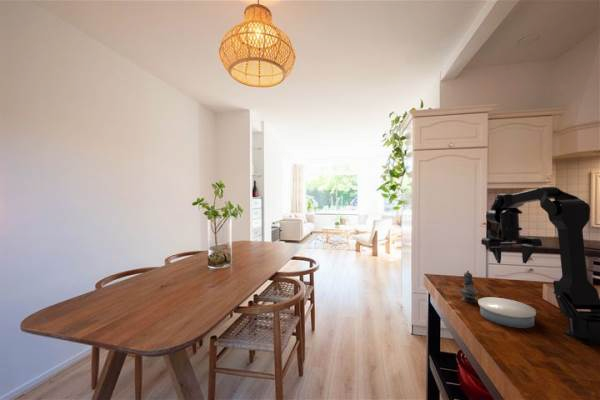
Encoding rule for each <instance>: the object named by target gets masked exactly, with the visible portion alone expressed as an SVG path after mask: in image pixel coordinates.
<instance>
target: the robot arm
mask: <svg viewBox="0 0 600 400" xmlns="http://www.w3.org/2000/svg"><path fill="white" fill-rule="evenodd" d="M538 201H539V204H540V205H539V206H540V208H541V209H542V210H544V211H545V212H546V213H547V215H548V221H550V223H551V224H552V225H553V226H554V227H555V228H556V229H557V238H558V246H559V255H560V256H559V257H560V266H561V278H560V279H559V280H553V283H552V285H553V295H554V296H555V297H554V298H555V300H556V303H557V306H558V309H559V311H560V313H561V314H563V315H564V316H565V317H567V321H568V330H566V329H565V330H563V333H564V334H566V335H568V336H570V337H571V338H573V339H575V340H577V341H579V342H580V343H582V344H584V345H597V346H600V295H599V292H598V289H597V288H596V287H595V286H594V284H593V283H592V282H591V281H590V280H589V276H588V269H587V259H586V250H585V243H584V242H585V241H584V231H583V230H584V228H585V226H587V224H588V223H589V222H590V217H591V207H590V204H589V203H588V202H586V201H585V200H583V199H580V198H579V197H578V196H576V195H573V194H570V193H569V192H565V191H564V190H562V189H560V188H558V187H557V186H544V187H541V186H540V187H537V188H533V189H530V190H526V191H522V192H518V193H499V194H498V195H497V196H496V197H495V199H494V201H493V203H492V205H491V207H490V210H488V212H487V213H486V215H485V218H486V220H487V221H488V222H490V223H493V224H494V223H495V224H500V225H499V226H498V227H497V229H498V230H495V229H492V228H491V229H487V231H486V232H487V233H486V234H487V237H482V239H481V242H480V244H481V245H483V246H484V247H486V248H488V249H489V250H490V251H491V252H492V254H493V257H494V258H495V261H496V263H498V264H501V262H502V247H501V245H519V247H520V248H521V258H522V263H523V264H527V262H528V261H529V259H530V258H531V256H532V255H533V254H534V252H535V251H536V250H537V249H539V248H540V247H543V241H542V240H541V239H540V238H538V237H531V236H530V237H529V236H528V237H527V236H525V237H524V236H522V237H521V235H520V233H521V232H520V231H522V230H523V227H520V216H519V214H521V215H522V214H523V211H522V210H520V209H519V208H520V207H523V206H524V205H525V204H528V203H533V202H538ZM587 310H588V311H587Z"/></svg>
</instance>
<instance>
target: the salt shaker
mask: <svg viewBox="0 0 600 400" xmlns="http://www.w3.org/2000/svg"><path fill="white" fill-rule="evenodd" d="M463 284H464V286H463V288H460V292H461V295H462V296H463V297H461V300H462V301H463V302H465V303H473V304H475V303H478V300H477V299H476V298H477V296H478V295H479V292H478V291H477V290H475V289H474V281H473V274H472V273H470V272H469V270H466V272H464V273H463Z"/></svg>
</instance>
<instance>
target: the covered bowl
mask: <svg viewBox="0 0 600 400" xmlns="http://www.w3.org/2000/svg"><path fill="white" fill-rule="evenodd" d="M477 301H478V302H477V303H478V306H479V308H480V310H479V312H480V315H481V316H482V317H483V318H485V320H486V319H487V320H488V321H490V322H493V323H496V324H498V325H502V326H506V327H510V328H511V327H512V328H518V329H519V328H520V329H529V328H532V327H534V326H535V316H536V315H537V310H536V309H535V308H534V307H532V306H530V305H528V304H525V303H523V302H520V301H517V300H513V299H509V298H503V297H501V298H500V297H492V296H491V297H489V296H488V297H482V298H479V299H478V300H477Z"/></svg>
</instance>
